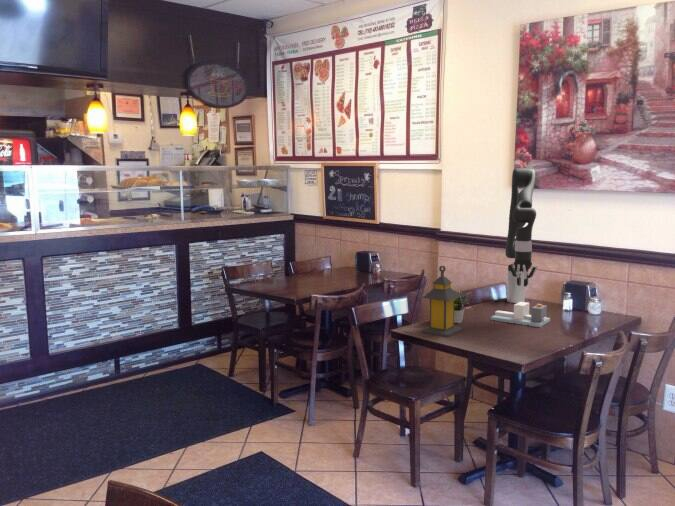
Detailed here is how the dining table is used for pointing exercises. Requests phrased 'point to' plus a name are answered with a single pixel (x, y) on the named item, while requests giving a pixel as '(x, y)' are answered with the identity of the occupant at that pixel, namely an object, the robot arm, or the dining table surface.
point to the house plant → (457, 310)
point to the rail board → (524, 322)
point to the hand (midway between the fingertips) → (522, 285)
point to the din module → (521, 310)
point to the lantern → (442, 307)
